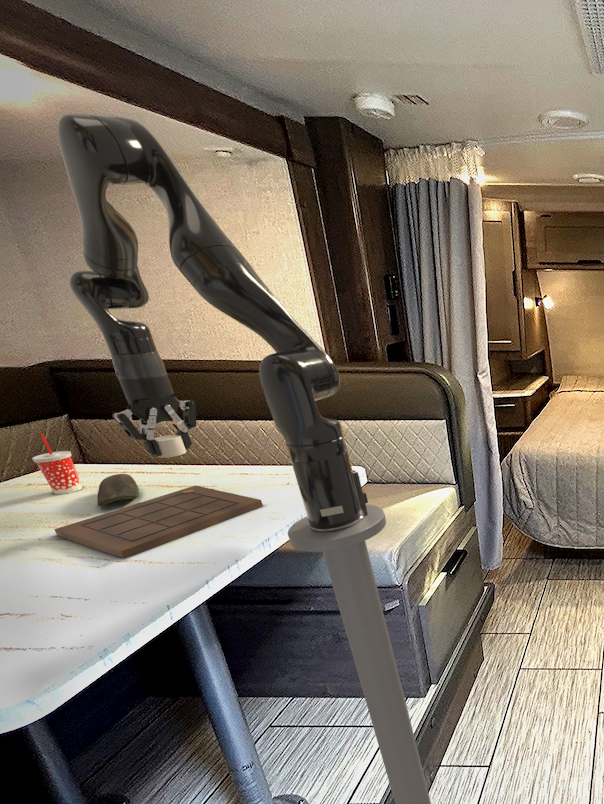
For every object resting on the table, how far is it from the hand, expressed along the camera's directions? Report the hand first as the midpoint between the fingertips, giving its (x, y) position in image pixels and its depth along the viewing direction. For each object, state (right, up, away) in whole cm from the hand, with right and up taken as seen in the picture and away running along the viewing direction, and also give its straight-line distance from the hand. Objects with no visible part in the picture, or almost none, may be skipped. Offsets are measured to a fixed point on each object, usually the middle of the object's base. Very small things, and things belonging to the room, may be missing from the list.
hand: (171, 451), depth 110 cm
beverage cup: (-34, -9, +10) cm, 37 cm away
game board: (+5, -15, -7) cm, 17 cm away
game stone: (0, -1, 0) cm, 1 cm away
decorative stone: (-17, -11, +5) cm, 20 cm away
